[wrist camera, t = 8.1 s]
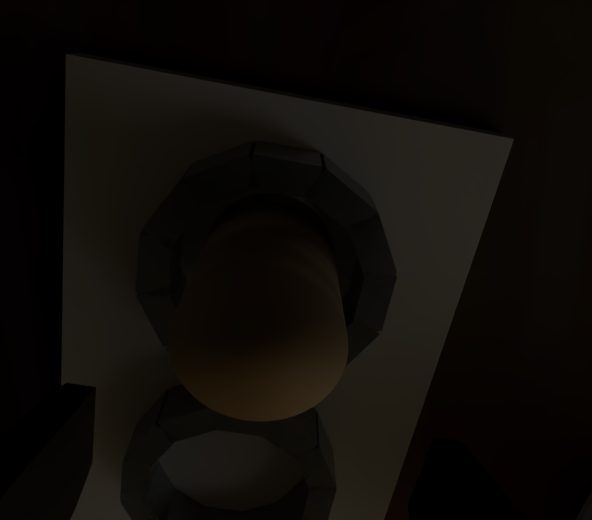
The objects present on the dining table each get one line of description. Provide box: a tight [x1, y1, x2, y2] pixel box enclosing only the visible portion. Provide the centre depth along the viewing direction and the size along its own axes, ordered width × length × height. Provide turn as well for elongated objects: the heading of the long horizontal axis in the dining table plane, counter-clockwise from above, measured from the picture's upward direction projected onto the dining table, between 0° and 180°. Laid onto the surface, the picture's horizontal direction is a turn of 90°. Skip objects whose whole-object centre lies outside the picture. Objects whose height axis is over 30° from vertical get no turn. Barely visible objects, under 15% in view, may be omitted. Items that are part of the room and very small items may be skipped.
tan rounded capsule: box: [168, 193, 348, 421], centre depth 16 cm, size 4×4×6 cm
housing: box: [61, 52, 514, 520], centre depth 20 cm, size 14×20×3 cm
